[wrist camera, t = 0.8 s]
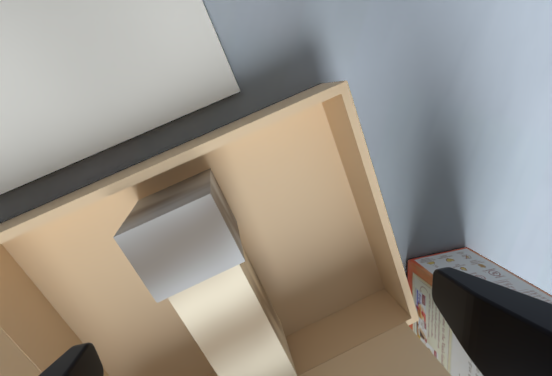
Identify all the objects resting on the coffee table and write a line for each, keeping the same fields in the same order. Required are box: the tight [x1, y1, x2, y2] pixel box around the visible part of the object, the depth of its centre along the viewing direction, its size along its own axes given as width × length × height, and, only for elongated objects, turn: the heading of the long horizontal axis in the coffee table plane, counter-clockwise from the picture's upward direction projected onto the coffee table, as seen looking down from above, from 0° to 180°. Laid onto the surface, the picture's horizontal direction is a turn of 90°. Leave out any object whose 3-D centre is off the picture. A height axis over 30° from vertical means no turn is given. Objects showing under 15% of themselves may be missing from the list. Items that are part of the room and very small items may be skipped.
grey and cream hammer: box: [113, 168, 297, 376], centre depth 19 cm, size 13×5×5 cm, turn 23°
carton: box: [0, 81, 451, 376], centre depth 18 cm, size 22×17×9 cm
